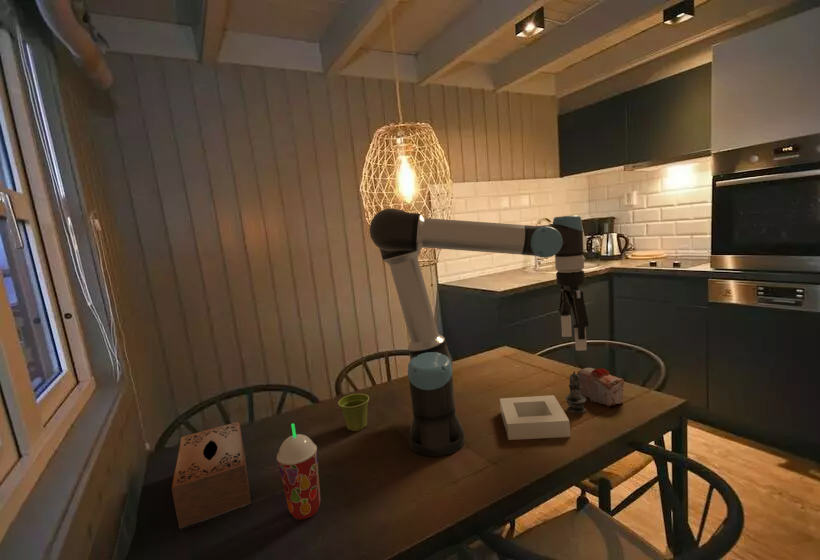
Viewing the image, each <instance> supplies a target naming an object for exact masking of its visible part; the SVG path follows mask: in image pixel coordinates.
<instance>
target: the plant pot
mask: <svg viewBox="0 0 820 560" xmlns="http://www.w3.org/2000/svg"><path fill="white" fill-rule="evenodd" d="M369 400H370V397H369V395H368V394H365V393H352V394H349V395H346V396H343V397H342V398H340V399H339V400H338V401H337V404H338V406H339V407H340V410H341V411H342V414H343V420H344V422H345V425H346V429H347V431H352V432H359V431H362V430H364V428H366V427H367V426H368V405H369Z"/></svg>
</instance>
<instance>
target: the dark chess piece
mask: <svg viewBox="0 0 820 560" xmlns="http://www.w3.org/2000/svg"><path fill="white" fill-rule="evenodd" d="M568 387H569V394H568V395H566V396H565V397H564V398H565V401H566V404H567V405H568V407H567V408H566V410H567V412H568V413H570V414H575V415H582V414H585V413H586V412H587V408H585V405H586V402H587V397H586V396H584V395H581V387H582V386H581V385H580V377H579V375H577V372H576V371H575V370H574V371H573V373H571V374H570V375H569V384H568Z"/></svg>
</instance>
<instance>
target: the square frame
mask: <svg viewBox="0 0 820 560" xmlns="http://www.w3.org/2000/svg"><path fill="white" fill-rule="evenodd" d="M499 406H500V414H501V419H502V422H503V425H504V429H505V433H506V437H507V440H509V441H512V440H515V441H517V440H534V439H538V440H539V439H551V438H552V439H553V438H554V439H555V438H556V439H557V438H571V425H570V419H569V417H568V416H567V414H566V413H565V411H564V409H563V408H562V406H561V405H560V402H559V401H558V400H557V398H556V396H555V395H536V396H534V395H533V396H521V397H519V396H518V397H517V396H516V397H505V398H504V397H503V398H499Z"/></svg>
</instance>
